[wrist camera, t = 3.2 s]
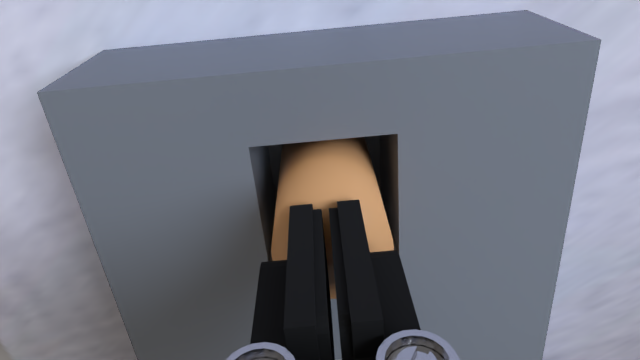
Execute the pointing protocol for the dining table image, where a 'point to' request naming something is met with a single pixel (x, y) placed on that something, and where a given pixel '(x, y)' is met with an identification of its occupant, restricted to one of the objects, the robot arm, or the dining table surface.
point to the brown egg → (329, 192)
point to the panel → (328, 124)
